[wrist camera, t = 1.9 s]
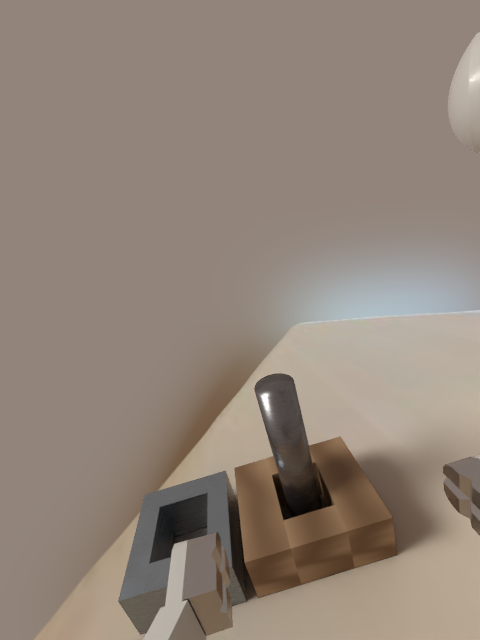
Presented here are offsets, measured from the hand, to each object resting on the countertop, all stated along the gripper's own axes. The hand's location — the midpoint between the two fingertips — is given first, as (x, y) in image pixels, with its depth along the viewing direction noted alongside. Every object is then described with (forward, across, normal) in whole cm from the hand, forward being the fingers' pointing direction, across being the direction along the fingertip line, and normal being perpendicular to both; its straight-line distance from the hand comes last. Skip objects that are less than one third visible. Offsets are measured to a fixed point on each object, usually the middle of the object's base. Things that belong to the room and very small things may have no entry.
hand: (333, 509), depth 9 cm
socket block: (+12, +11, +18) cm, 25 cm away
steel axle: (+12, 0, +18) cm, 22 cm away
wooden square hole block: (+12, 0, +18) cm, 22 cm away
